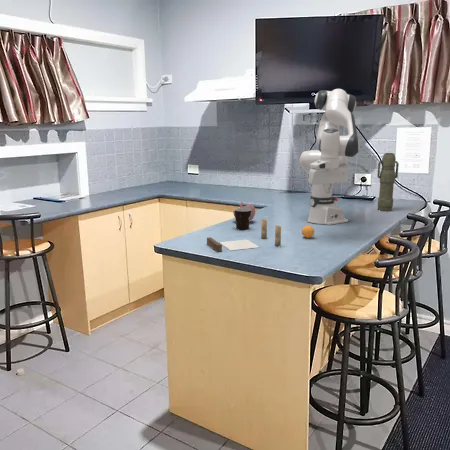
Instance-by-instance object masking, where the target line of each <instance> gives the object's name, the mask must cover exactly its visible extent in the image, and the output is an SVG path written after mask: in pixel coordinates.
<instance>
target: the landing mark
mask: <svg viewBox="0 0 450 450" xmlns="http://www.w3.org/2000/svg"><path fill="white" fill-rule="evenodd" d="M218 243H220V244H221V245H222V247H224V248H226V249H227V250H229V251H230V252H232V251H240V250H249V249H250V250H251V249H256V248H257V249H258V248H260V246H259V245H257V244H255V243H254V242H252V241H250V240H248V239H239V240H237V239H236V240H229V241H221V242H220V241H219V242H218Z"/></svg>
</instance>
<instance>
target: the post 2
mask: <svg viewBox="0 0 450 450" xmlns="http://www.w3.org/2000/svg"><path fill="white" fill-rule="evenodd" d="M274 227H275V229H274V246H275V247H281V244H282V243H281V242H282V241H281V240H282V225H275V226H274Z"/></svg>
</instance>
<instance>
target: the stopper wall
mask: <svg viewBox="0 0 450 450" xmlns="http://www.w3.org/2000/svg"><path fill="white" fill-rule="evenodd" d="M206 245H208V246H209V247H210V248H211V249H212V250H214V251H215V252H217V253H222V252H223V245H222V244H220V243H219V242H218V241H217V240H215V239H214V238H213V237H211V236H208V237H206Z"/></svg>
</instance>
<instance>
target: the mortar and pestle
mask: <svg viewBox="0 0 450 450" xmlns="http://www.w3.org/2000/svg"><path fill="white" fill-rule="evenodd" d="M243 204H244V201H240V202H239V208H248V209H251V215H250V222H251V221H252V220H253V219H254V217H255V215H256V207H255V205H254V204H252V203H251V204H247V205H245V206H243ZM232 214H233V216H234V217H235V210H234V211H233V212H232Z"/></svg>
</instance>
